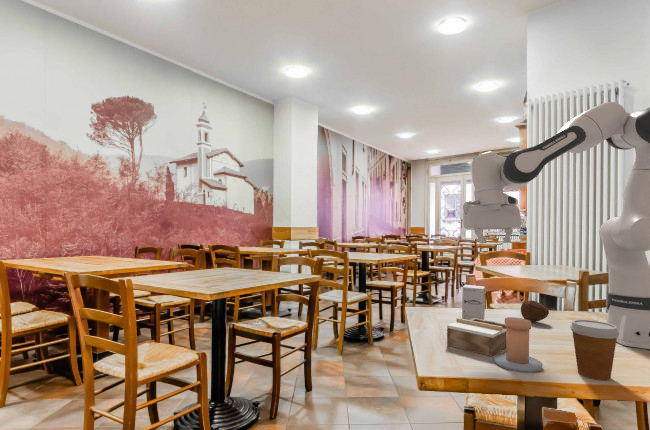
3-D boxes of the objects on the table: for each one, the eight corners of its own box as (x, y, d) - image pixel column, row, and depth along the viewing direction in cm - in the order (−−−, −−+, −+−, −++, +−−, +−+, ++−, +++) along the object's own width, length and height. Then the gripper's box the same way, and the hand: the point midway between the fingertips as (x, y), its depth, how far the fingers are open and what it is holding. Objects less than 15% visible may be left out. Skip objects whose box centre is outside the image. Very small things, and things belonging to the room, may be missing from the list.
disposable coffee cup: (560, 367, 94) (560, 319, 94) (597, 367, 95) (597, 319, 95) (590, 384, 85) (590, 329, 85) (630, 383, 85) (630, 329, 86)
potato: (526, 318, 146) (526, 297, 146) (553, 324, 137) (553, 302, 138) (515, 320, 142) (515, 299, 142) (541, 326, 134) (541, 304, 134)
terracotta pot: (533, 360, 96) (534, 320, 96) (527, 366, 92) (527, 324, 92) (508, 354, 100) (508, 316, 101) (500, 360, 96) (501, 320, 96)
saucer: (548, 364, 96) (548, 360, 96) (534, 376, 88) (534, 372, 88) (502, 353, 104) (502, 350, 104) (486, 363, 96) (486, 359, 96)
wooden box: (516, 342, 114) (516, 326, 114) (492, 356, 101) (492, 337, 101) (473, 333, 123) (473, 318, 123) (447, 345, 110) (447, 327, 111)
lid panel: (502, 333, 106) (502, 326, 106) (492, 337, 101) (492, 330, 101) (457, 323, 115) (458, 317, 115) (447, 327, 111) (447, 321, 111)
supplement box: (461, 321, 139) (461, 286, 139) (464, 317, 146) (464, 284, 146) (483, 324, 136) (483, 288, 136) (485, 319, 142) (485, 285, 142)
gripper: (469, 198, 119) (474, 242, 116) (521, 199, 125) (528, 241, 122) (456, 202, 125) (461, 244, 122) (507, 203, 131) (513, 243, 128)
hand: (495, 243), depth 122 cm, fingers open, 8 cm apart
